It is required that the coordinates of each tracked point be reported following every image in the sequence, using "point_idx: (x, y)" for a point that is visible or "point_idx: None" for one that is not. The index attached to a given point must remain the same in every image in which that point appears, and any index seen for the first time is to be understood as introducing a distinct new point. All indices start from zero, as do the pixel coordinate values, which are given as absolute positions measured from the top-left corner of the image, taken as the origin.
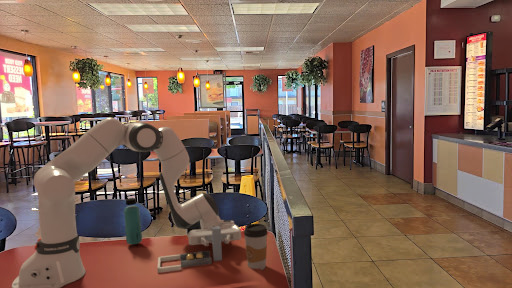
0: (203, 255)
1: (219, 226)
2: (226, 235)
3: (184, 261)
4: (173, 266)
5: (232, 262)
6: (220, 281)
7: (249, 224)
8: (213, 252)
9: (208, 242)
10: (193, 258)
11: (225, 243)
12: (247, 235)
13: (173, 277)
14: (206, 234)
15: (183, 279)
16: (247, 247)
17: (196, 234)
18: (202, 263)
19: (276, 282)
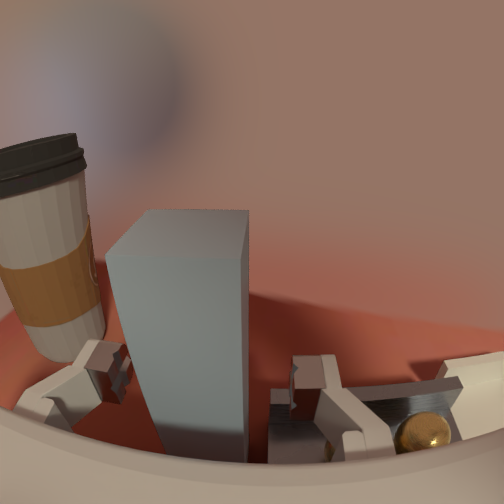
0: (328, 441)
1: (116, 245)
2: (51, 408)
3: (440, 381)
4: (474, 358)
5: (133, 422)
6: (251, 301)
7: (5, 152)
8: (248, 408)
9: (294, 357)
10: (398, 427)
11: (128, 367)
12: (84, 160)
13: (446, 355)
14: (318, 474)
15: (401, 337)
16: (89, 230)
17: (473, 481)
18: None
19: (95, 262)
